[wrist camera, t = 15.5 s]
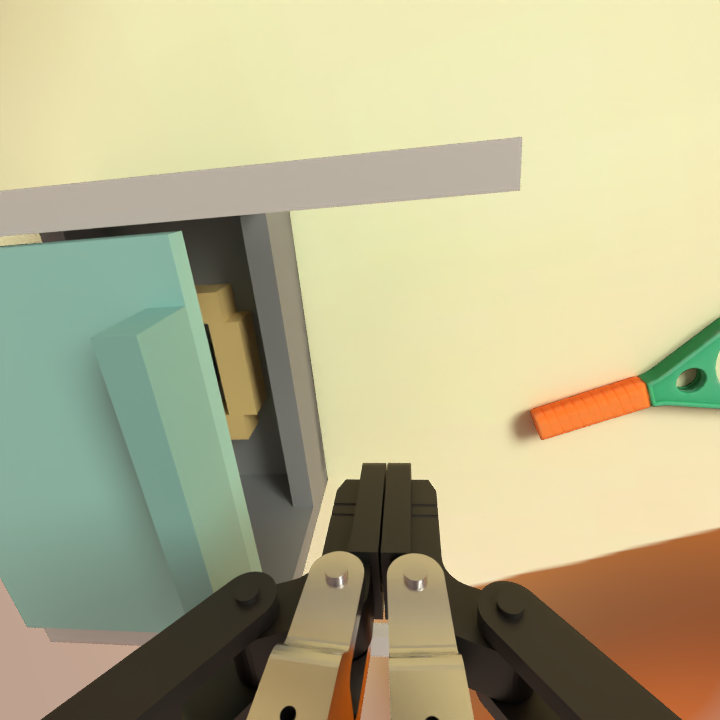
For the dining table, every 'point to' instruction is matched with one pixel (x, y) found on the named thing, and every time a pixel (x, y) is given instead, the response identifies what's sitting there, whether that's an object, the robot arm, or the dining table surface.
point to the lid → (112, 438)
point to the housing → (259, 302)
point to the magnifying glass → (641, 389)
